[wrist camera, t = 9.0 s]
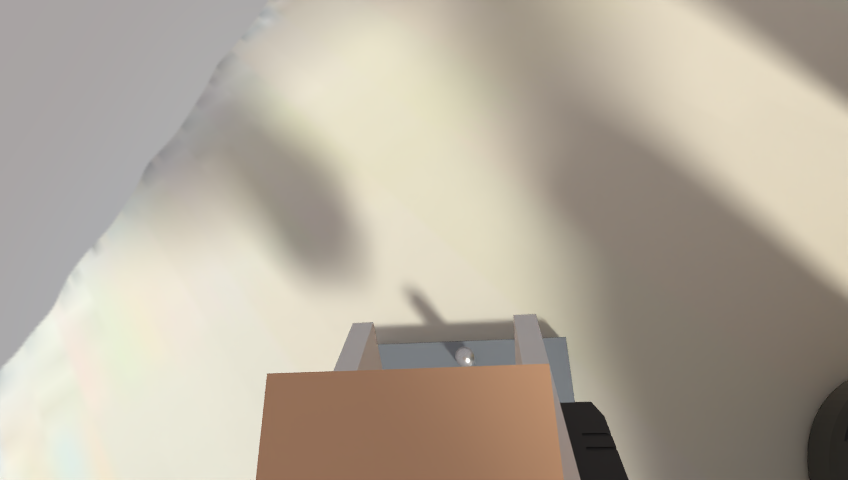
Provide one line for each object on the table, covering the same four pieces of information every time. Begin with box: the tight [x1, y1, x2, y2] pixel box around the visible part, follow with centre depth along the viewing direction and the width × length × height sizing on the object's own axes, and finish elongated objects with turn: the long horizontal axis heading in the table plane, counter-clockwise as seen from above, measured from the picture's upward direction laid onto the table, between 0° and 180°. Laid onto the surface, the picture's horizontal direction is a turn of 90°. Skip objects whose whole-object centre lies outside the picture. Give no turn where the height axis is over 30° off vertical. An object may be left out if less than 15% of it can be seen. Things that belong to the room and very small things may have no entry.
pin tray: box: [378, 337, 575, 403], centre depth 28 cm, size 14×12×5 cm
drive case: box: [256, 364, 564, 480], centre depth 12 cm, size 5×5×12 cm
